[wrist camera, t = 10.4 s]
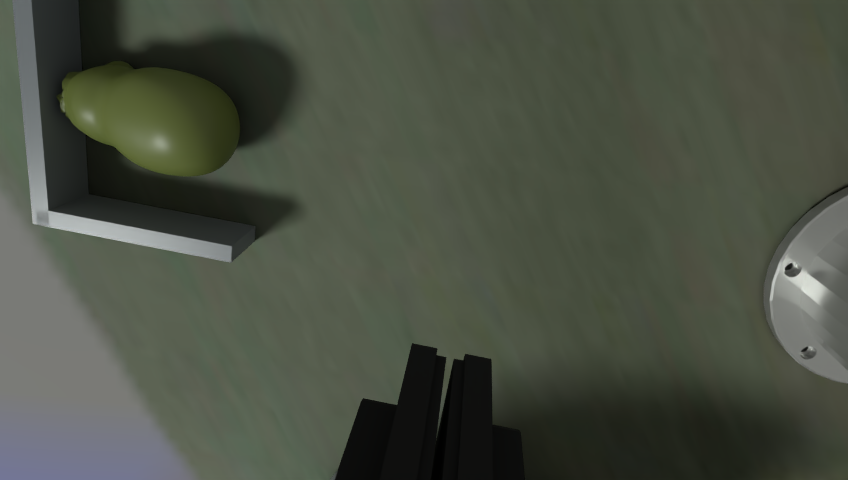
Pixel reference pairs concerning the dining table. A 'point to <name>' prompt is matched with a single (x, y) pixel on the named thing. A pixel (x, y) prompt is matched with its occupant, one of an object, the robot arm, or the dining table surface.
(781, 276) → the robot arm
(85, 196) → the box
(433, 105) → the dining table surface
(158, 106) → the pear
